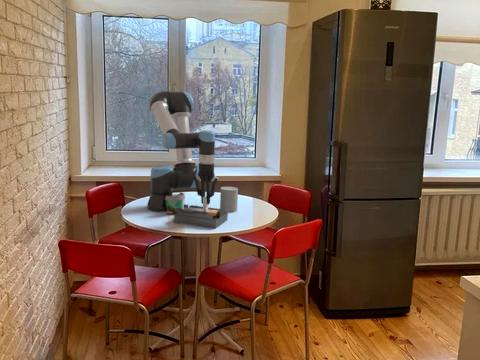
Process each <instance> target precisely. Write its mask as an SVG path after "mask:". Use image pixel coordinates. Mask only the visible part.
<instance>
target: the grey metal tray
mask: <svg viewBox="0 0 480 360" xmlns="http://www.w3.org/2000/svg"><path fill="white" fill-rule="evenodd" d="M185 207H191V208H200V209H203V206H201V205H193V204H192V205H189V204H183V208H185ZM208 209H210V210H219V211H217V215H216V216H214V215H208V214H200V213H193V212H185V211H182V208H178V213H176V214H174V215H173V223H175V224H180V225H181V224H182V225H187V226H188V225H189V226H194V227H203V228H208V229H209V228H210V229H214V230H216V229H217V228H219V227H220V226H222V225H223V224H224V223H226V222H227V221H228V218H229V217H228V216H229V215H228V214H229V213H228V212H224V209H220V208H215V207H209V206H208Z"/></svg>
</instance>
